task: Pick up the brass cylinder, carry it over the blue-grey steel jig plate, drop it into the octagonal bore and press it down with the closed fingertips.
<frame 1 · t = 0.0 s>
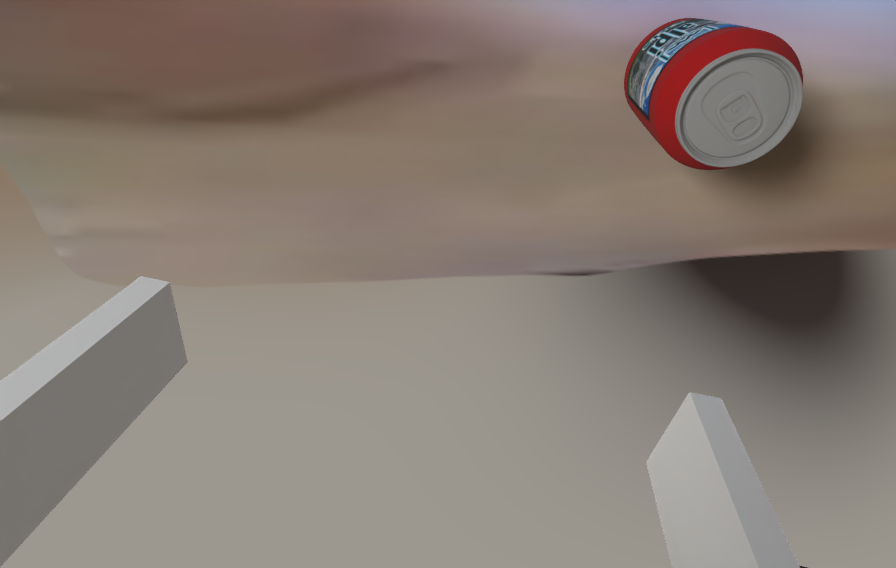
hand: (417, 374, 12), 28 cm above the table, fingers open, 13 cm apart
beverage can: (672, 72, 32), on the table
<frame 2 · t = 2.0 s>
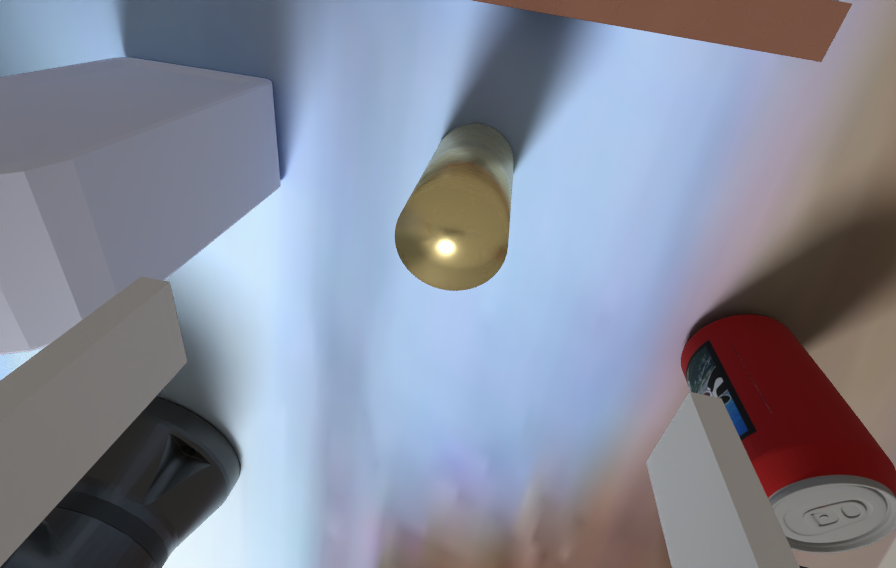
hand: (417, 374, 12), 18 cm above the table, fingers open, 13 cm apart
soap bottle: (211, 128, 28), on the table
brass cylinder: (474, 163, 27), on the table
beverage can: (730, 346, 31), on the table
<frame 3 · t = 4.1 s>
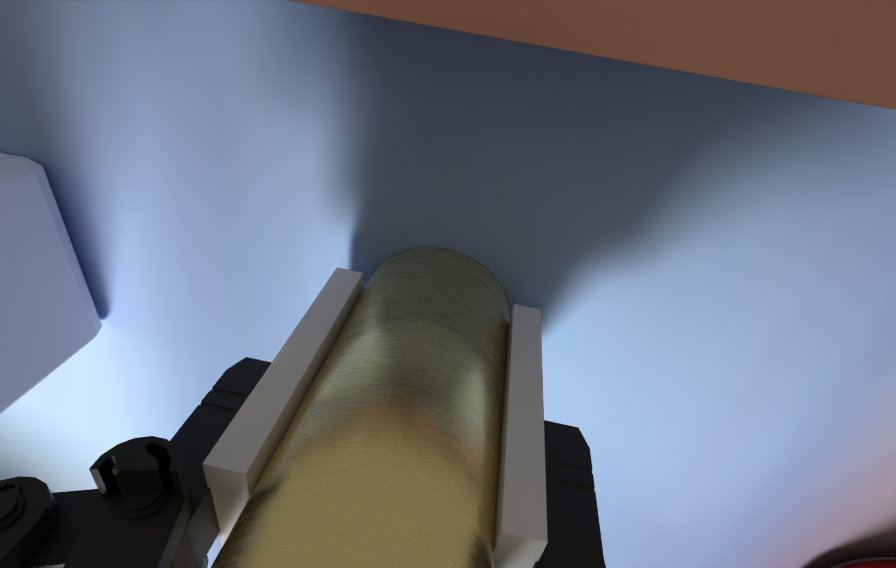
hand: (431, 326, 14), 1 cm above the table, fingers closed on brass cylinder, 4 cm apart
brass cylinder: (435, 313, 14), on the table, touching gripper
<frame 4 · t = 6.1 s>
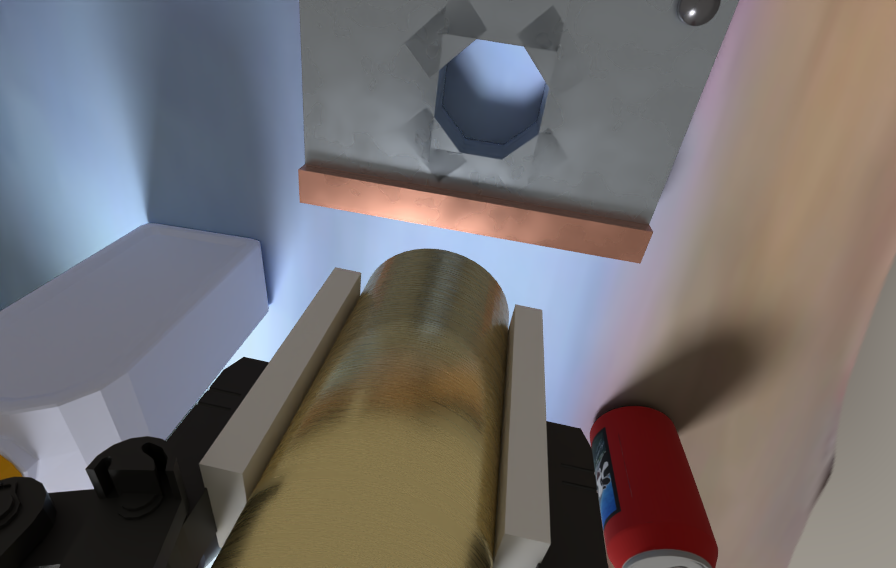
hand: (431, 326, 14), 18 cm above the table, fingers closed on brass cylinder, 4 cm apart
soap bottle: (214, 269, 36), on the table
brass cylinder: (435, 313, 14), point 17 cm above the table, touching gripper
beverage can: (629, 425, 39), on the table
jig: (492, 92, 27), on the table
when the fingers open (5 cm above the table, at t = 8.3 s): brass cylinder drops 1 cm, resting in jig.
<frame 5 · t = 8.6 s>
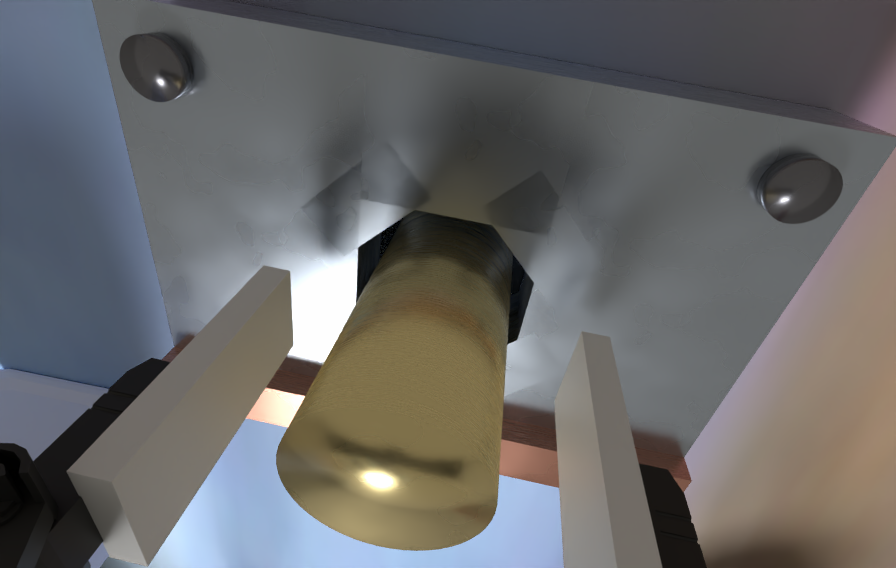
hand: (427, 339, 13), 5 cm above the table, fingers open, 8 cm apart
soap bottle: (96, 419, 27), on the table
brass cylinder: (453, 251, 18), resting in jig
jig: (453, 251, 18), on the table
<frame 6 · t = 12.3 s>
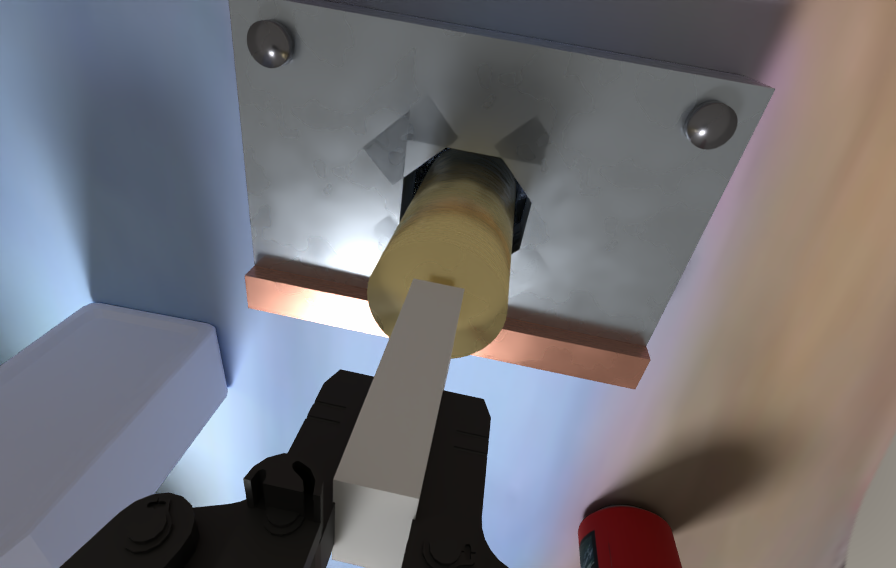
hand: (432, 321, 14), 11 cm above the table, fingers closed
soap bottle: (167, 349, 33), on the table
brass cylinder: (470, 190, 23), resting in jig
beverage can: (621, 521, 36), on the table
jig: (470, 189, 23), on the table
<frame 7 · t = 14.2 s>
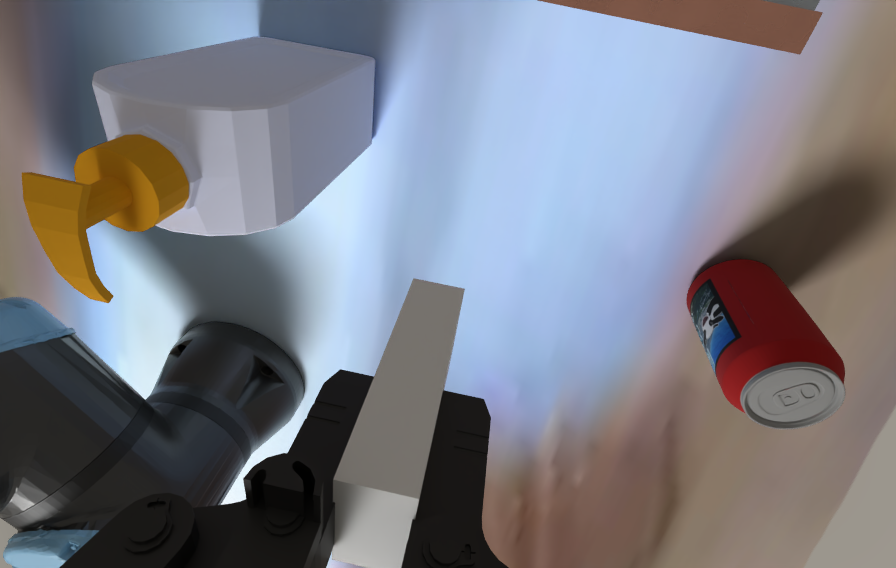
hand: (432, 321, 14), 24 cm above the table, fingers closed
soap bottle: (319, 95, 35), on the table
beverage can: (728, 288, 38), on the table
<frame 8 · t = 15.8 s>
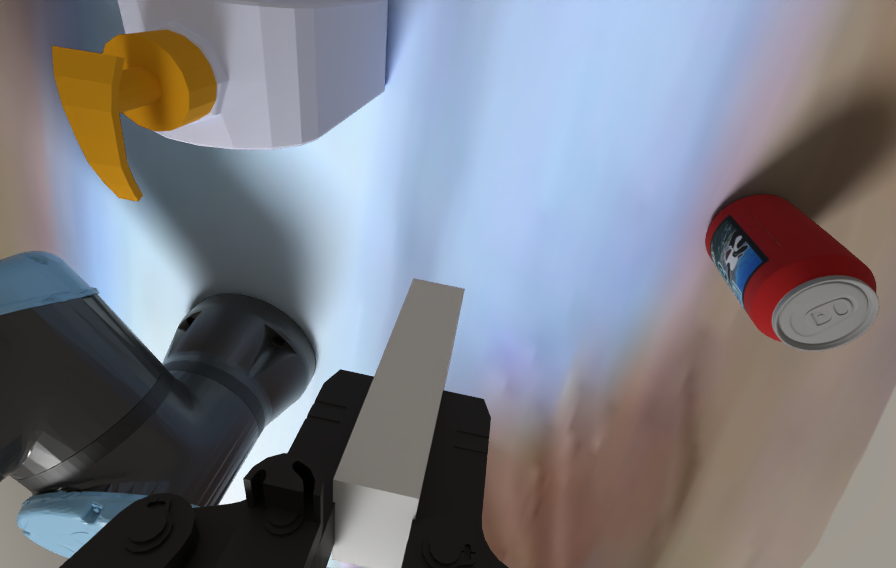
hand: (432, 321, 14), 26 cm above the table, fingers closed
soap bottle: (330, 43, 35), on the table
beverage can: (746, 228, 38), on the table
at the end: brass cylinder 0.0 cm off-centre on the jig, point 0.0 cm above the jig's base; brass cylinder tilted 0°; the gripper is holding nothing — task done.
